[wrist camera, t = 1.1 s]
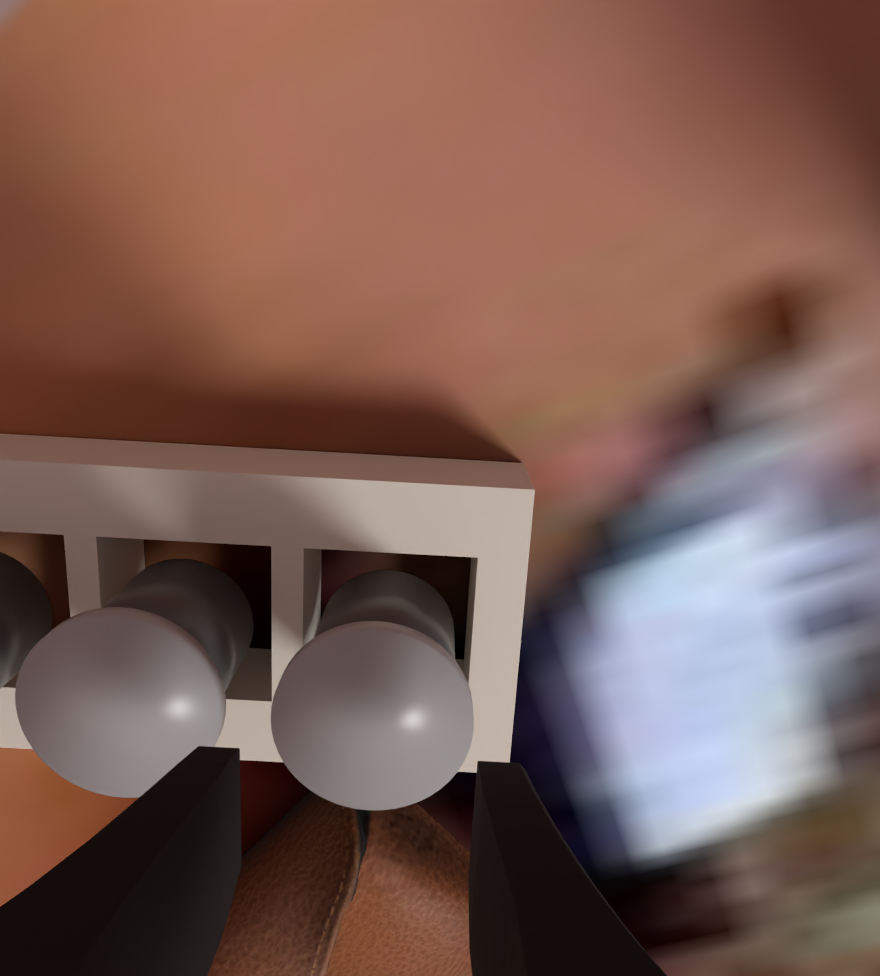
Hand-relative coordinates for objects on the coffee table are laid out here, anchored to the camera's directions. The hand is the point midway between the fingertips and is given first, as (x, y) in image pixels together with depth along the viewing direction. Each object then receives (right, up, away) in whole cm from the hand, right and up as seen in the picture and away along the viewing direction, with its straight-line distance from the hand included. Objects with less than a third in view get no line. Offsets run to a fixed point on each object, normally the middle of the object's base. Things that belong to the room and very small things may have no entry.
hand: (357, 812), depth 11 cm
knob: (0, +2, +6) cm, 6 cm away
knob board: (-4, +2, +8) cm, 10 cm away
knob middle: (-4, +2, +6) cm, 7 cm away
